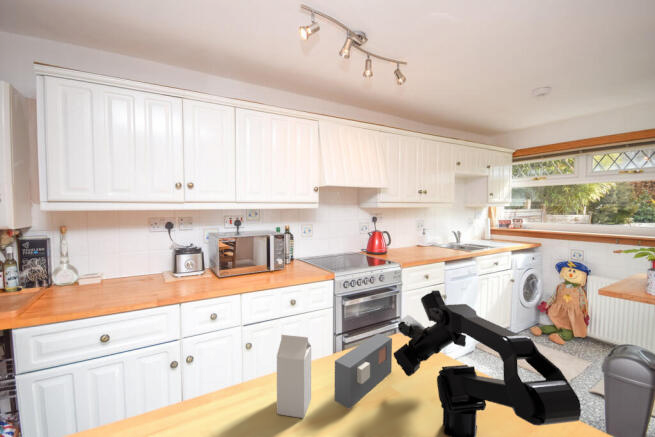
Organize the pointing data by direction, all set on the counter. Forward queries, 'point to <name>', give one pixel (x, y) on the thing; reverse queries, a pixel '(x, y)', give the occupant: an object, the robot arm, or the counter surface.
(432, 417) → the counter surface
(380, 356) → the terracotta button
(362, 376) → the cream button
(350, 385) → the console
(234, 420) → the counter surface
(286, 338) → the milk carton
